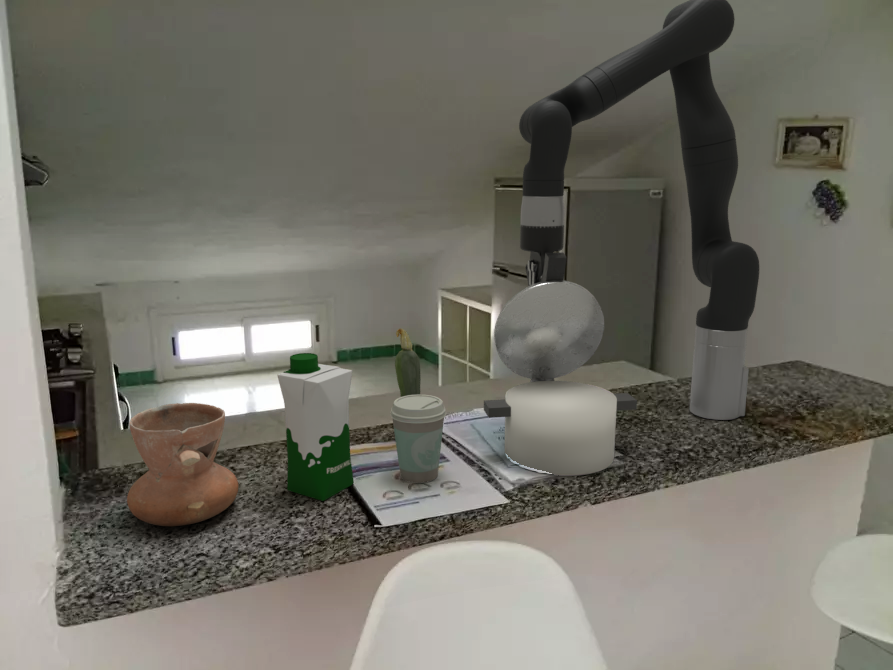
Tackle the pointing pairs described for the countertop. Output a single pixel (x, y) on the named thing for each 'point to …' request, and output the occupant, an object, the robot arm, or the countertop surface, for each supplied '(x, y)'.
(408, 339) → the vegetable
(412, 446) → the coffee cup
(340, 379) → the milk carton
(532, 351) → the cooker lid
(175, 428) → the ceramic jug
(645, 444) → the countertop surface
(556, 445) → the cooker pot
